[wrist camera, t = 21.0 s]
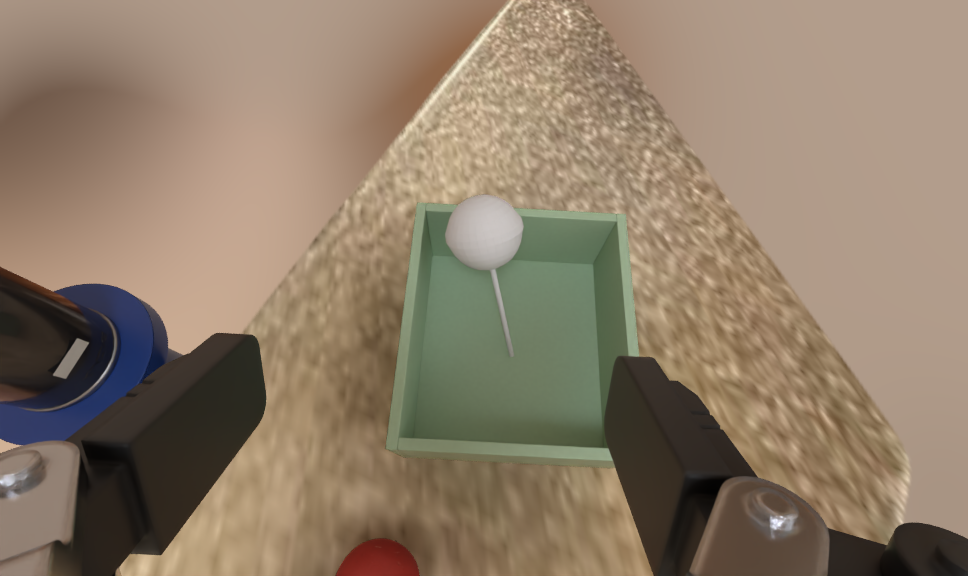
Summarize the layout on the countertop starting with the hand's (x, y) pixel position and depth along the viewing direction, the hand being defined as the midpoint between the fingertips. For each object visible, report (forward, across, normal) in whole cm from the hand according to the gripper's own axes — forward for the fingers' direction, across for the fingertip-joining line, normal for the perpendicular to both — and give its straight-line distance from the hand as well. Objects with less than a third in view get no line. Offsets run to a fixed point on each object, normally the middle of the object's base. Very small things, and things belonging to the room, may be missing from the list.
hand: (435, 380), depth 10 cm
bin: (+28, -4, +15) cm, 32 cm away
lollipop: (+27, -4, +15) cm, 31 cm away
